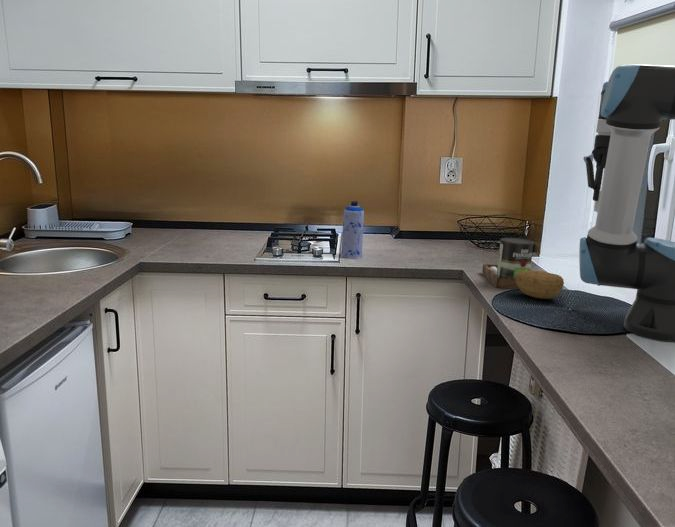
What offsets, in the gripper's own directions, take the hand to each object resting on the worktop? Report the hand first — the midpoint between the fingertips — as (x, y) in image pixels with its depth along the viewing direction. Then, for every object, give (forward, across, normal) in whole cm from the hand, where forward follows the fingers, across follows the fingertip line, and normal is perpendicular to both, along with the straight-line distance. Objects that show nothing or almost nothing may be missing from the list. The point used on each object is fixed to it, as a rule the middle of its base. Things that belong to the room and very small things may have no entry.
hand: (597, 211), depth 196 cm
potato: (+25, +21, +16) cm, 36 cm away
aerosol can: (+25, +75, -28) cm, 84 cm away
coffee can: (+25, +24, +1) cm, 35 cm away
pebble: (+24, +28, -9) cm, 38 cm away
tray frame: (+24, +24, -3) cm, 34 cm away
